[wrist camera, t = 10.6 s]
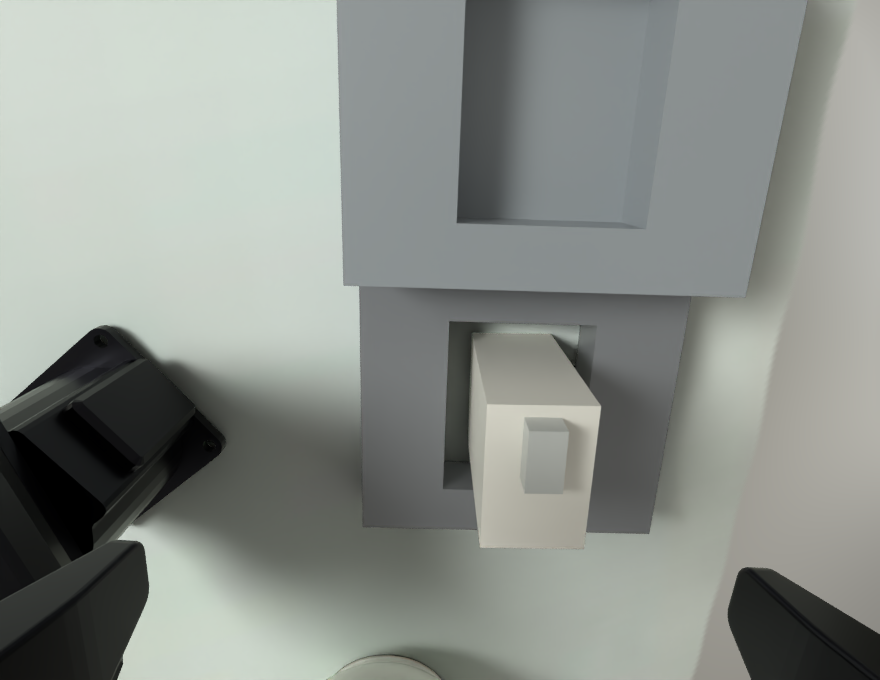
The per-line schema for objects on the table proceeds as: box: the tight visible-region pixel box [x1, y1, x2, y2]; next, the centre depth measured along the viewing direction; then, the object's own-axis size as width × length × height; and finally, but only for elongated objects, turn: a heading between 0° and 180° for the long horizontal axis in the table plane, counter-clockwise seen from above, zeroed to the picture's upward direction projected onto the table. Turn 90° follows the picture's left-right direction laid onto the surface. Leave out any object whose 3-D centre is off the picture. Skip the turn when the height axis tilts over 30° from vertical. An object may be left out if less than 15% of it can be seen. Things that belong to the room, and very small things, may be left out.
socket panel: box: [337, 0, 808, 534], centre depth 17 cm, size 20×11×5 cm, turn 178°
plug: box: [468, 333, 601, 549], centre depth 17 cm, size 4×3×7 cm, turn 179°
